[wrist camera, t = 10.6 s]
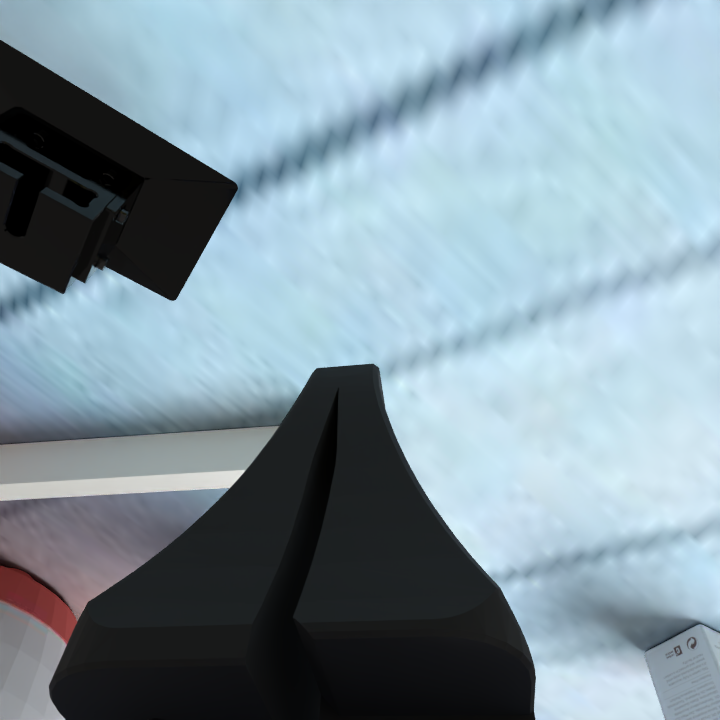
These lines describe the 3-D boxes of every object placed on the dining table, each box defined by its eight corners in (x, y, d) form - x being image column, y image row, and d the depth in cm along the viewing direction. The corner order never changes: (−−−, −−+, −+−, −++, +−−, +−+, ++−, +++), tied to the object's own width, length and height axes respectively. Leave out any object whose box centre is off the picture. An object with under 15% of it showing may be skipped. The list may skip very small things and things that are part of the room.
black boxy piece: (292, 183, 21) (270, 246, 17) (204, 329, 25) (172, 407, 21) (-97, -56, 17) (-231, -40, 14) (-128, 161, 21) (-239, 218, 17)
